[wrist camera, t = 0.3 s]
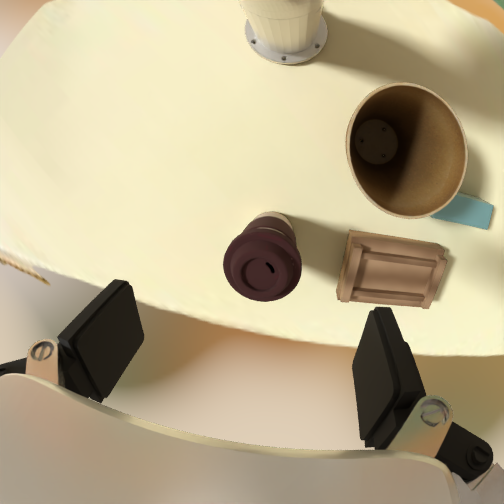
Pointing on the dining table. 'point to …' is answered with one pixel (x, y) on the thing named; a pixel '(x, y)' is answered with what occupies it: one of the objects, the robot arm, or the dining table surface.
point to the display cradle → (390, 270)
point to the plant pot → (406, 150)
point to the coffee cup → (264, 259)
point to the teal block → (466, 211)
